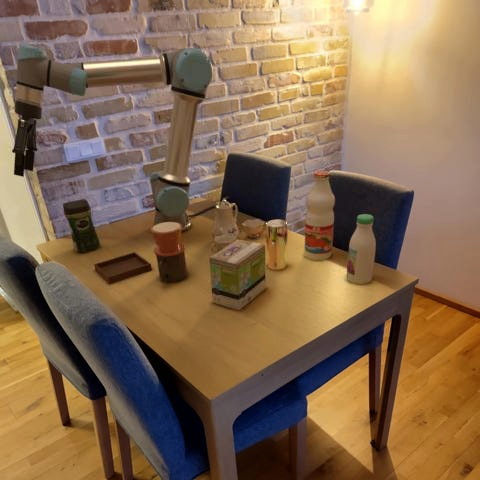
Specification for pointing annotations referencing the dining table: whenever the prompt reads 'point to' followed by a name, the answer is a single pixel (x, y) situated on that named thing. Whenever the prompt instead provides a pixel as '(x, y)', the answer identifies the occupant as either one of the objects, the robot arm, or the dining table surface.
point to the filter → (167, 239)
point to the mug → (172, 268)
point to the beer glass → (276, 243)
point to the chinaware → (231, 226)
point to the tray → (122, 267)
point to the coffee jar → (81, 225)
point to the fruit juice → (319, 218)
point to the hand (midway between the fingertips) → (23, 172)
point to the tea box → (237, 273)
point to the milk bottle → (361, 251)
